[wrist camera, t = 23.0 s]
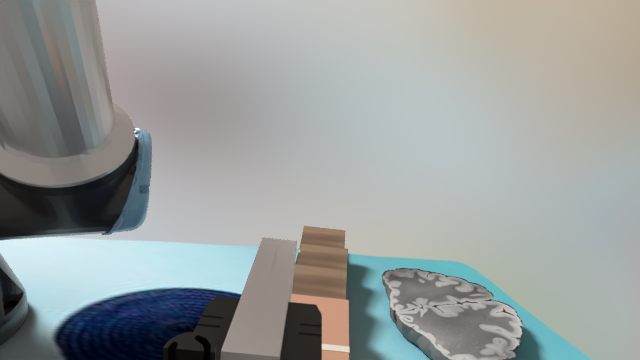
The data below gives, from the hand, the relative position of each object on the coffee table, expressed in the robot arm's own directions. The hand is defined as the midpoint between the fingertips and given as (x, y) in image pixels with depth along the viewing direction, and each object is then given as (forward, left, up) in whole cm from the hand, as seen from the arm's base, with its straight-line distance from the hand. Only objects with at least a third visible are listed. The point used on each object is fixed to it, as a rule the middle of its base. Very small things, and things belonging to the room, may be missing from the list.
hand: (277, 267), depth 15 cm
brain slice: (+7, +33, -21) cm, 40 cm away
